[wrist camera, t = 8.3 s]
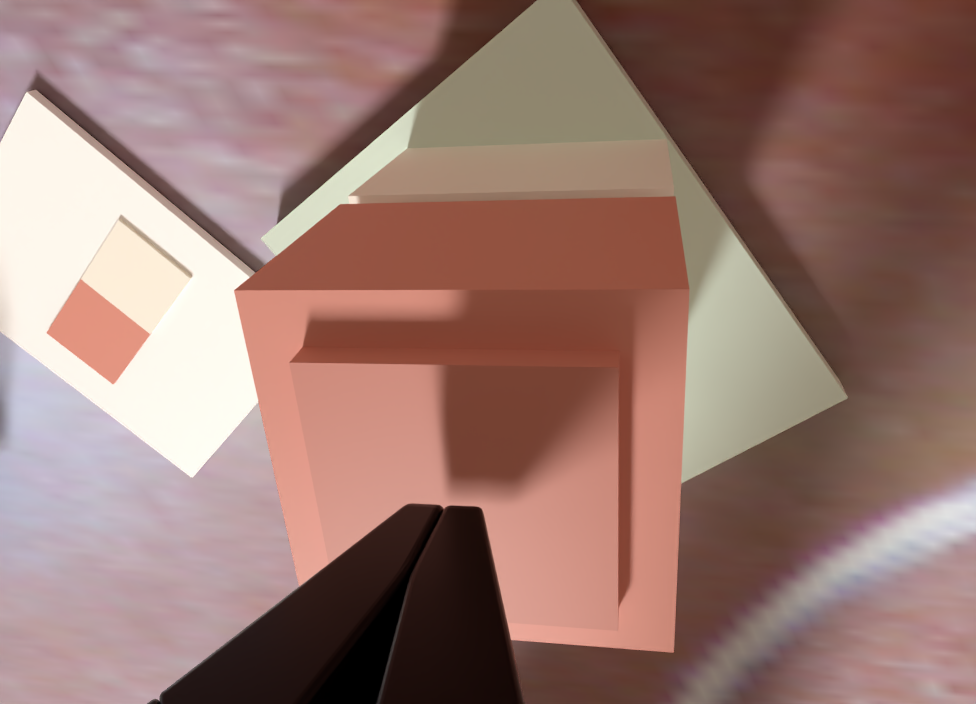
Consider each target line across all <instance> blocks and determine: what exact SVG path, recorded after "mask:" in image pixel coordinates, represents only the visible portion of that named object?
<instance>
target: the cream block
mask: <svg viewBox="0 0 976 704" xmlns="http://www.w3.org/2000/svg"><path fill="white" fill-rule="evenodd" d="M669 196H674V184H673V178H672V171H671V164H670V158H669V151H668V144H667V139H652V140H624V141H596V142H568V143H540V144H512V145H484V146H456V147H428V148H407V149H406V150H404V151H403V152H402V153H401V154H399V155H398V156H397V157H396V158H395V159H393V160H392V161H391V162H390V163H388V164H387V165H386V166H385V167H383V168H382V169H381V170H380V171H378V172H377V173H376V174H375V175H373V176H372V177H371V178H370V179H368V180H367V181H366V182H365V183H364V184H362V185H361V186H360V187H359V188H357V189H356V190H355V191H354V192H352V193H351V194H350V195H349V196H348V199H349V204H366V203H410V202H453V201H496V200H539V199H582V198H625V197H669Z"/></svg>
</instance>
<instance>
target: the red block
mask: <svg viewBox="0 0 976 704" xmlns="http://www.w3.org/2000/svg"><path fill="white" fill-rule="evenodd" d="M689 290H690V289H689V282H688V276H687V269H686V263H685V256H684V249H683V243H682V236H681V229H680V223H679V216H678V210H677V203H676V196H669V197H625V198H582V199H539V200H496V201H453V202H410V203H366V204H340V205H338V206H337V207H336V208H335V209H333V210H332V211H331V212H330V213H329V214H327V215H326V216H325V217H324V218H322V219H321V220H320V221H319V222H317V223H316V224H315V225H314V226H313V227H311V228H310V229H309V230H308V231H306V232H305V233H304V234H303V235H301V236H300V237H299V238H298V239H297V240H295V241H294V242H293V243H292V244H290V245H289V246H288V247H287V248H285V249H284V250H283V251H282V252H281V253H279V254H278V255H277V256H276V257H274V258H273V259H272V260H271V261H269V262H268V263H267V264H266V265H265V266H263V267H262V268H261V269H260V270H258V271H257V272H256V273H255V274H253V275H252V276H251V277H250V278H249V279H247V280H246V281H245V282H244V283H242V284H241V285H240V286H239V287H237V288H236V289H235V290H234V293H235V298H236V302H237V307H238V311H239V316H240V321H241V325H242V330H243V334H244V339H245V343H246V348H247V352H248V357H249V361H250V366H251V370H252V375H253V379H254V384H255V388H256V393H257V397H258V402H259V407H260V411H261V416H262V420H263V425H264V429H265V434H266V438H267V443H268V447H269V452H270V456H271V461H272V465H273V470H274V474H275V479H276V484H277V488H278V493H279V497H280V502H281V506H282V511H283V515H284V520H285V524H286V529H287V533H288V538H289V542H290V547H291V551H292V556H293V560H294V565H295V570H296V574H297V579H298V583H299V586H301V585H302V584H303V583H304V582H306V581H307V580H308V579H310V578H311V577H312V576H314V575H315V574H316V573H317V572H319V571H320V570H321V569H323V568H324V567H325V566H326V565H328V564H329V563H330V562H332V561H333V560H334V559H336V558H337V557H338V556H339V555H341V554H342V553H343V552H345V551H346V550H347V549H349V548H350V547H351V546H352V545H354V544H355V543H356V542H358V541H359V540H360V539H361V538H363V537H364V536H365V535H367V534H368V533H369V532H371V531H372V530H373V529H374V528H376V527H377V526H378V525H380V524H381V523H382V522H383V521H385V520H386V519H387V518H389V517H390V516H391V515H393V514H394V513H395V512H396V511H398V510H399V509H400V508H402V507H403V506H405V505H407V504H410V503H416V504H436V505H440V506H442V507H443V508H445V507H447V506H450V505H457V506H477V507H480V508H481V509H482V510H483V513H484V517H485V522H486V527H487V531H488V536H489V540H490V545H491V550H492V554H493V559H494V563H495V568H496V572H497V577H498V582H499V586H500V591H501V595H502V600H503V605H504V609H505V614H506V618H507V623H508V628H509V632H510V637H511V640H519V641H532V642H545V643H557V644H570V645H583V646H595V647H608V648H621V649H634V650H646V651H659V652H672V653H674V638H675V615H676V592H677V568H678V545H679V522H680V499H681V476H682V452H683V429H684V406H685V383H686V360H687V337H688V313H689Z"/></svg>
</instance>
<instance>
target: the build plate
mask: <svg viewBox="0 0 976 704" xmlns="http://www.w3.org/2000/svg"><path fill="white" fill-rule="evenodd" d="M652 139H667V144H668V151H669V158H670V164H671V171H672V178H673V184H674V196H676V203H677V210H678V216H679V223H680V229H681V236H682V243H683V249H684V256H685V263H686V269H687V276H688V282H689V289H690V290H689V313H688V337H687V360H686V383H685V406H684V429H683V452H682V476H681V483H683V482H685V481H687V480H689V479H691V478H693V477H695V476H697V475H699V474H701V473H703V472H705V471H707V470H709V469H711V468H713V467H715V466H717V465H718V464H720V463H722V462H724V461H726V460H728V459H730V458H732V457H734V456H736V455H738V454H740V453H742V452H744V451H746V450H748V449H750V448H752V447H754V446H756V445H758V444H760V443H762V442H763V441H765V440H767V439H769V438H771V437H773V436H775V435H777V434H779V433H781V432H783V431H785V430H787V429H789V428H791V427H793V426H795V425H797V424H799V423H801V422H803V421H805V420H807V419H808V418H810V417H812V416H814V415H816V414H818V413H820V412H822V411H824V410H826V409H828V408H830V407H832V406H834V405H836V404H838V403H840V402H842V401H844V400H846V399H848V397H847V395H846V393H845V390H844V388H843V386H842V384H841V382H840V380H839V379H838V377H837V376H836V374H835V373H834V371H833V370H832V368H831V367H830V366H829V364H828V363H827V361H826V360H825V358H824V357H823V356H822V354H821V353H820V351H819V350H818V348H817V347H816V345H815V344H814V343H813V341H812V340H811V338H810V337H809V335H808V334H807V332H806V331H805V330H804V328H803V327H802V325H801V324H800V322H799V321H798V319H797V318H796V317H795V315H794V314H793V312H792V311H791V309H790V308H789V306H788V305H787V304H786V302H785V301H784V299H783V298H782V296H781V295H780V294H779V292H778V291H777V289H776V288H775V286H774V285H773V283H772V282H771V281H770V279H769V278H768V276H767V275H766V273H765V272H764V270H763V269H762V268H761V266H760V265H759V263H758V262H757V260H756V259H755V257H754V256H753V255H752V253H751V252H750V250H749V249H748V247H747V246H746V244H745V243H744V242H743V240H742V239H741V237H740V236H739V234H738V233H737V232H736V230H735V229H734V227H733V226H732V224H731V223H730V221H729V220H728V219H727V217H726V216H725V214H724V213H723V211H722V210H721V208H720V207H719V206H718V204H717V203H716V201H715V200H714V198H713V197H712V195H711V194H710V193H709V191H708V190H707V188H706V187H705V185H704V184H703V183H702V181H701V180H700V178H699V177H698V175H697V174H696V172H695V171H694V170H693V168H692V167H691V165H690V164H689V162H688V161H687V159H686V158H685V157H684V155H683V154H682V152H681V151H680V149H679V148H678V146H677V145H676V144H675V142H674V141H673V139H672V138H671V136H670V135H669V133H668V132H667V131H666V129H665V128H664V126H663V125H662V123H661V122H660V121H659V119H658V118H657V116H656V115H655V113H654V112H653V110H652V109H651V108H650V106H649V105H648V103H647V102H646V100H645V99H644V97H643V96H642V95H641V93H640V92H639V90H638V89H637V87H636V86H635V84H634V83H633V82H632V80H631V79H630V77H629V76H628V74H627V73H626V71H625V70H624V69H623V67H622V66H621V64H620V63H619V61H618V60H617V59H616V57H615V56H614V54H613V53H612V51H611V50H610V48H609V47H608V46H607V44H606V43H605V41H604V40H603V38H602V37H601V35H600V34H599V33H598V31H597V30H596V28H595V27H594V25H593V24H592V22H591V21H590V20H589V18H588V17H587V15H586V14H585V12H584V11H583V9H582V8H581V7H580V5H579V4H578V2H577V1H576V0H537V1H536V2H534V3H533V4H532V5H531V6H530V7H529V8H528V9H526V10H525V11H524V12H523V13H522V14H521V15H519V16H518V17H517V18H516V19H515V20H514V21H512V22H511V23H510V24H509V25H508V26H507V27H505V28H504V29H503V30H502V31H501V32H500V33H498V34H497V35H496V36H495V37H494V38H493V39H492V40H490V41H489V42H488V43H487V44H486V45H485V46H483V47H482V48H481V49H480V50H479V51H478V52H476V53H475V54H474V55H473V56H472V57H471V58H469V59H468V60H467V61H466V62H465V63H464V64H463V65H461V66H460V67H459V68H458V69H457V70H456V71H454V72H453V73H452V74H451V75H450V76H449V77H447V78H446V79H445V80H444V81H443V82H442V83H440V84H439V85H438V86H437V87H436V88H435V89H434V90H432V91H431V92H430V93H429V94H428V95H427V96H425V97H424V98H423V99H422V100H421V101H420V102H418V103H417V104H416V105H415V106H414V107H413V108H411V109H410V110H409V111H408V112H407V113H406V114H404V115H403V116H402V117H401V118H400V119H399V120H398V121H396V122H395V123H394V124H393V125H392V126H391V127H389V128H388V129H387V130H386V131H385V132H384V133H382V134H381V135H380V136H379V137H378V138H377V139H375V140H374V141H373V142H372V143H371V144H370V145H369V146H367V147H366V148H365V149H364V150H363V151H362V152H360V153H359V154H358V155H357V156H356V157H355V158H353V159H352V160H351V161H350V162H349V163H348V164H346V165H345V166H344V167H343V168H342V169H341V170H340V171H338V172H337V173H336V174H335V175H334V176H333V177H331V178H330V179H329V180H328V181H327V182H326V183H324V184H323V185H322V186H321V187H320V188H319V189H317V190H316V191H315V192H314V193H313V194H312V195H310V196H309V197H308V198H307V199H306V200H305V201H304V202H302V203H301V204H300V205H299V206H298V207H297V208H295V209H294V210H293V211H292V212H291V213H290V214H288V215H287V216H286V217H285V218H284V219H283V220H281V221H280V222H279V223H278V224H277V225H276V226H275V227H273V228H272V229H271V230H270V231H269V232H268V233H266V234H265V235H264V236H263V237H262V238H261V240H262V241H263V242H264V243H265V244H266V245H267V246H268V248H269V249H270V250H271V251H272V252H273V253H274V254H275V255H276V256H277V255H278V254H279V253H281V252H282V251H283V250H284V249H285V248H287V247H288V246H289V245H290V244H292V243H293V242H294V241H295V240H297V239H298V238H299V237H300V236H301V235H303V234H304V233H305V232H306V231H308V230H309V229H310V228H311V227H313V226H314V225H315V224H316V223H317V222H319V221H320V220H321V219H322V218H324V217H325V216H326V215H327V214H329V213H330V212H331V211H332V210H333V209H335V208H336V207H337V206H338V205H340V204H349V199H348V196H349V195H350V194H351V193H352V192H354V191H355V190H356V189H357V188H359V187H360V186H361V185H362V184H364V183H365V182H366V181H367V180H368V179H370V178H371V177H372V176H373V175H375V174H376V173H377V172H378V171H380V170H381V169H382V168H383V167H385V166H386V165H387V164H388V163H390V162H391V161H392V160H393V159H395V158H396V157H397V156H398V155H399V154H401V153H402V152H403V151H404V150H406V149H407V148H428V147H456V146H484V145H512V144H540V143H568V142H596V141H624V140H652Z"/></svg>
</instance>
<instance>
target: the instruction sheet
mask: <svg viewBox="0 0 976 704" xmlns="http://www.w3.org/2000/svg"><path fill="white" fill-rule="evenodd" d="M253 274H255V272H254V271H253V270H252V269H250V268H249V267H248V266H247V265H246V264H244V263H243V262H242V261H241V260H240V259H238V258H237V257H236V256H235V255H234V254H232V253H231V252H230V251H229V250H228V249H226V248H225V247H224V246H223V245H222V244H220V243H219V242H218V241H217V240H216V239H214V238H213V237H212V236H211V235H210V234H208V233H207V232H206V231H205V230H204V229H202V228H201V227H200V226H199V225H198V224H196V223H195V222H194V221H193V220H192V219H190V218H189V217H188V216H187V215H186V214H184V213H183V212H182V211H181V210H180V209H178V208H177V207H176V206H175V205H174V204H172V203H171V202H170V201H169V200H168V199H166V198H165V197H164V196H163V195H162V194H160V193H159V192H158V191H157V190H156V189H154V188H153V187H152V186H151V185H150V184H148V183H147V182H146V181H145V180H144V179H142V178H141V177H140V176H139V175H138V174H136V173H135V172H134V171H133V170H132V169H130V168H129V167H128V166H127V165H126V164H124V163H123V162H122V161H121V160H120V159H118V158H117V157H116V156H115V155H114V154H112V153H111V152H110V151H109V150H108V149H106V148H105V147H104V146H103V145H102V144H100V143H99V142H98V141H97V140H96V139H94V138H93V137H92V136H91V135H90V134H88V133H87V132H86V131H85V130H84V129H82V128H81V127H80V126H79V125H78V124H76V123H75V122H74V121H73V120H72V119H70V118H69V117H68V116H67V115H66V114H64V113H63V112H62V111H61V110H60V109H58V108H57V107H56V106H55V105H54V104H52V103H51V102H50V101H49V100H48V99H46V98H45V97H44V96H43V95H42V94H40V93H39V92H38V91H37V90H33V91H28V92H26V94H25V96H24V98H23V100H22V102H21V104H20V106H19V108H18V109H17V111H16V113H15V115H14V117H13V119H12V121H11V123H10V125H9V127H8V129H7V131H6V133H5V135H4V137H3V139H2V141H1V142H0V332H1V333H3V334H4V335H5V336H7V337H8V338H9V339H11V340H12V341H13V342H15V343H16V344H17V345H18V346H20V347H21V348H22V349H24V350H25V351H26V352H28V353H29V354H30V355H32V356H33V357H34V358H36V359H37V360H38V361H39V362H41V363H42V364H43V365H45V366H46V367H47V368H49V369H50V370H51V371H53V372H54V373H55V374H56V375H58V376H59V377H60V378H62V379H63V380H64V381H66V382H67V383H68V384H70V385H71V386H72V387H74V388H75V389H76V390H77V391H79V392H80V393H81V394H83V395H84V396H85V397H87V398H88V399H89V400H91V401H92V402H93V403H94V404H96V405H97V406H98V407H100V408H101V409H102V410H104V411H105V412H106V413H108V414H109V415H110V416H112V417H113V418H114V419H115V420H117V421H118V422H119V423H121V424H122V425H123V426H125V427H126V428H127V429H129V430H130V431H131V432H132V433H134V434H135V435H136V436H138V437H139V438H140V439H142V440H143V441H144V442H146V443H147V444H148V445H150V446H151V447H152V448H153V449H155V450H156V451H157V452H159V453H160V454H161V455H163V456H164V457H165V458H167V459H168V460H169V461H170V462H172V463H173V464H174V465H176V466H177V467H178V468H180V469H181V470H182V471H184V472H185V473H186V474H188V475H189V476H190V477H191V478H193V476H194V475H195V474H196V473H197V472H198V471H199V470H200V468H201V467H202V466H203V465H204V464H205V463H206V461H207V460H208V459H209V458H210V457H211V456H212V455H213V453H214V452H215V451H216V450H217V449H218V448H219V447H220V445H221V444H222V443H223V442H224V441H225V440H226V438H227V437H228V436H229V435H230V434H231V433H232V432H233V430H234V429H235V428H236V427H237V426H238V425H239V424H240V422H241V421H242V420H243V419H244V418H245V417H246V415H247V414H248V413H249V412H250V411H251V410H252V409H253V407H254V406H255V405H256V404H257V403H258V397H257V393H256V388H255V384H254V379H253V375H252V370H251V366H250V361H249V357H248V352H247V348H246V343H245V339H244V334H243V330H242V325H241V321H240V316H239V311H238V307H237V302H236V298H235V293H234V290H235V289H236V288H237V287H239V286H240V285H241V284H242V283H244V282H245V281H246V280H247V279H249V278H250V277H251V276H252V275H253Z"/></svg>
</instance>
